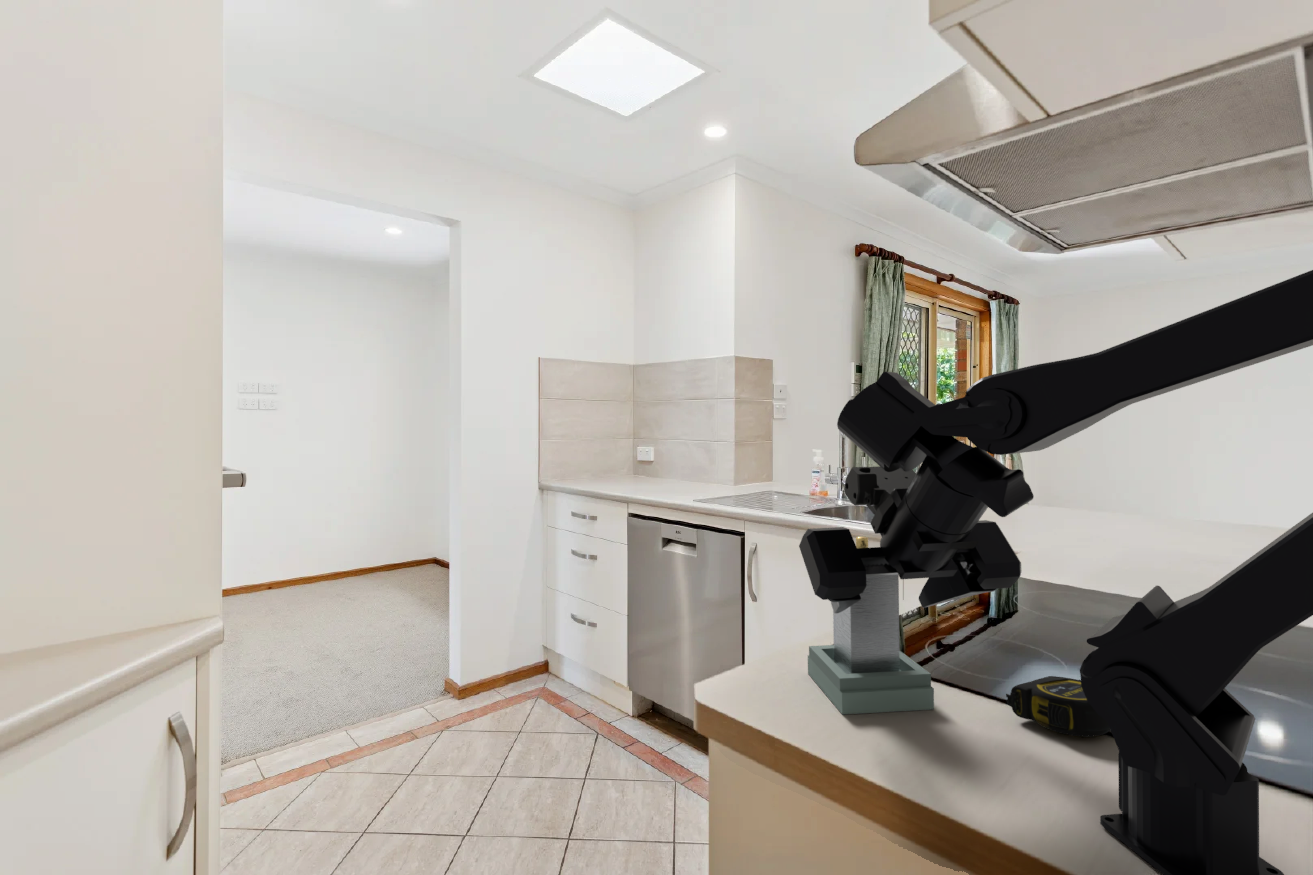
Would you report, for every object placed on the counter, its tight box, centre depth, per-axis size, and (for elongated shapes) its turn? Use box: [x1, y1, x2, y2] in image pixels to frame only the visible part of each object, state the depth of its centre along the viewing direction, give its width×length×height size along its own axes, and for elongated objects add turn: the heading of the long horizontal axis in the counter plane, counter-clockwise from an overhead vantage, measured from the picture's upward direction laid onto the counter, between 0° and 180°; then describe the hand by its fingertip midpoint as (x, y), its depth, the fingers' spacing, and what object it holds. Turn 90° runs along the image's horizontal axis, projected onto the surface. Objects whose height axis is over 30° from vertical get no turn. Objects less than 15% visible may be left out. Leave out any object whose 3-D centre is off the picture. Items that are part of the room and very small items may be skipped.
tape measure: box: [1005, 675, 1111, 738], centre depth 56 cm, size 7×7×4 cm
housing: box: [832, 536, 900, 674], centre depth 64 cm, size 4×5×14 cm
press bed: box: [807, 644, 935, 715], centre depth 65 cm, size 10×9×3 cm
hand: (878, 605), depth 62 cm, fingers open, 9 cm apart
